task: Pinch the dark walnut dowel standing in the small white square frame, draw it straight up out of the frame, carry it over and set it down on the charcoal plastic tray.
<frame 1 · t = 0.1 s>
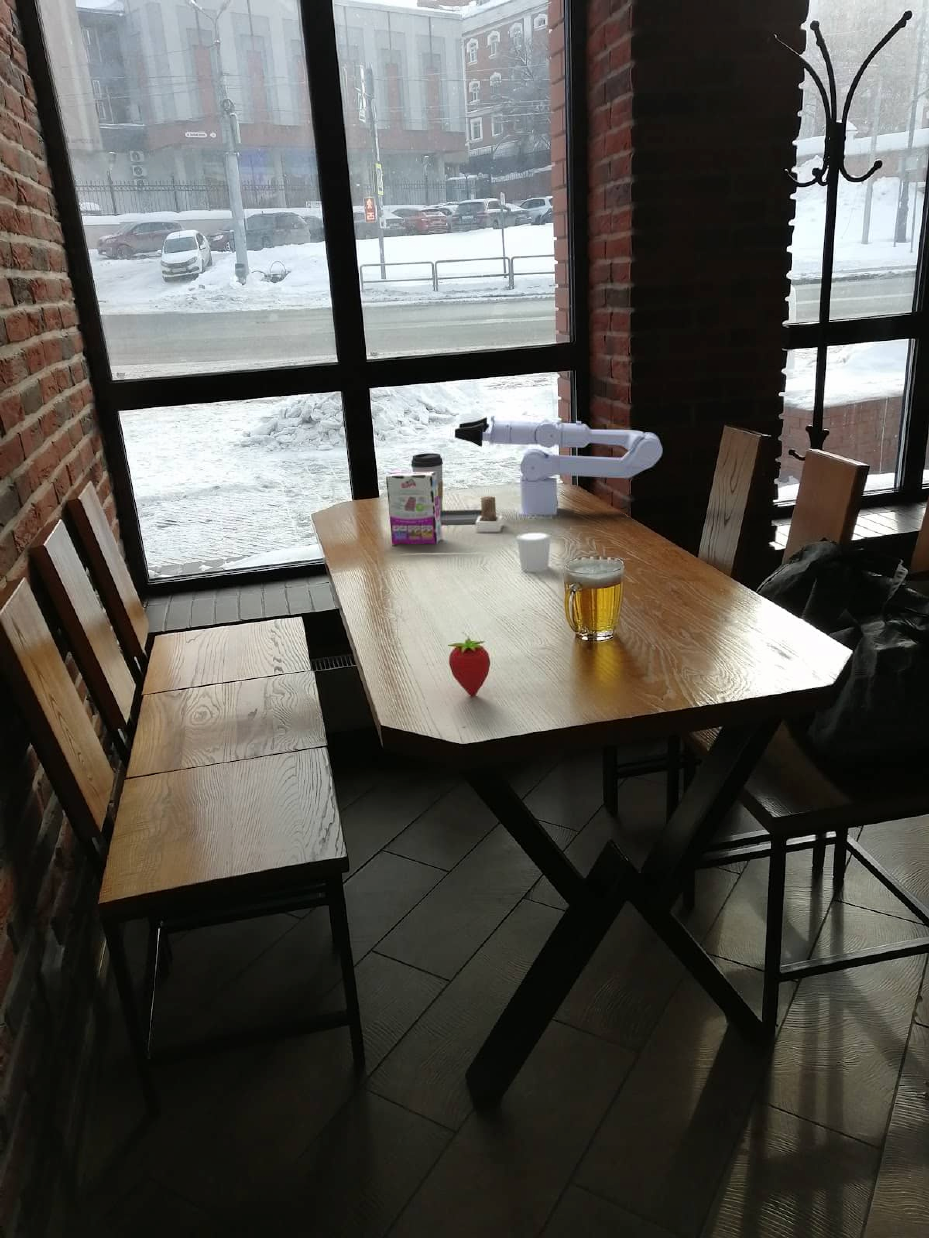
hand: (457, 430, 235), 22 cm above the table, tool horizontal, fingers open, 7 cm apart
coffee cup: (430, 513, 246), on the table
tray: (462, 520, 235), on the table
white tapered cylinder: (534, 569, 193), on the table
strawberry: (471, 697, 136), on the table
candy bar box: (417, 543, 218), on the table
white square frame: (489, 530, 225), on the table
dowel: (489, 528, 225), resting on white square frame
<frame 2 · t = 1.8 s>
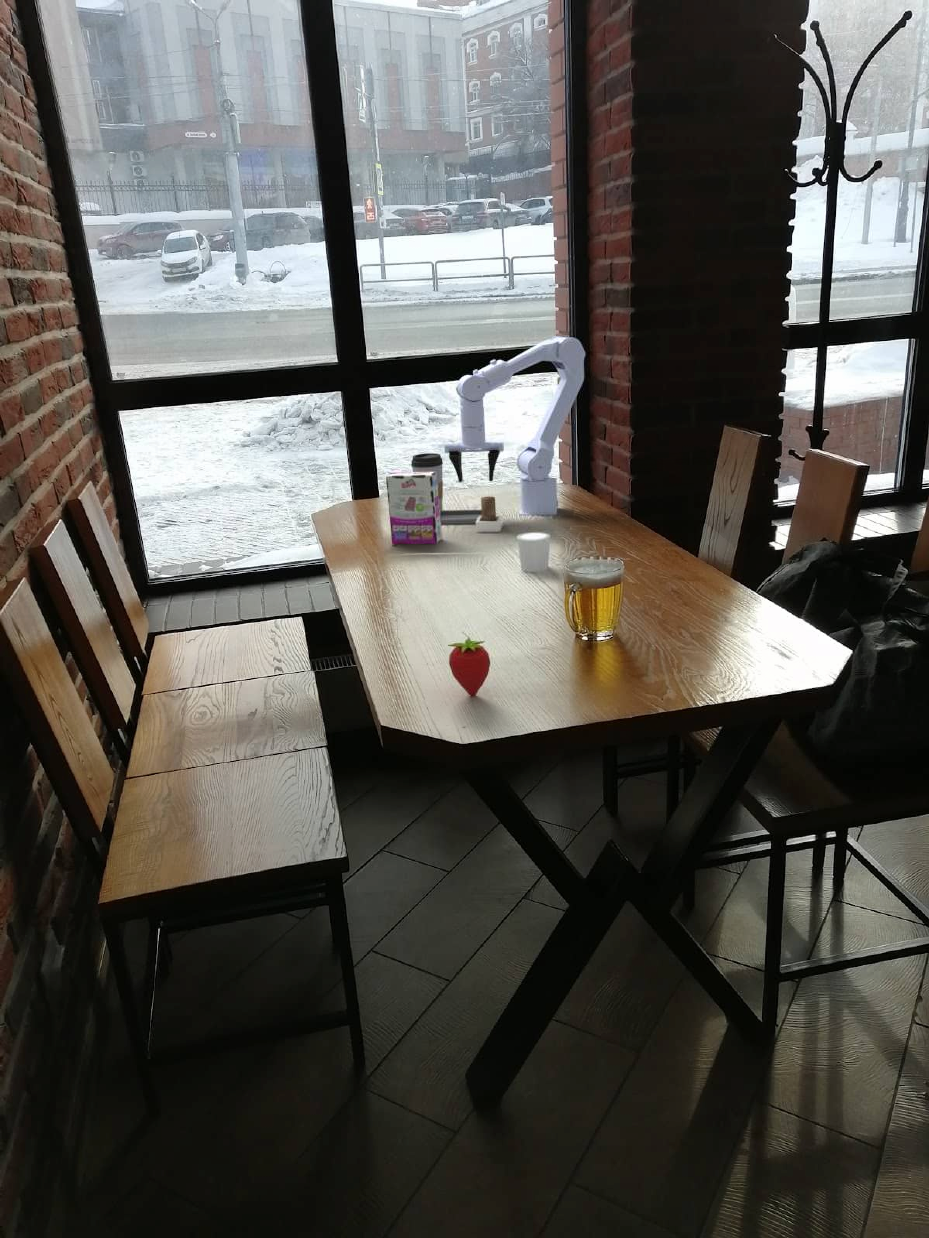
hand: (475, 481, 232), 10 cm above the table, tool pointing down, fingers open, 7 cm apart
nothing on the table moved.
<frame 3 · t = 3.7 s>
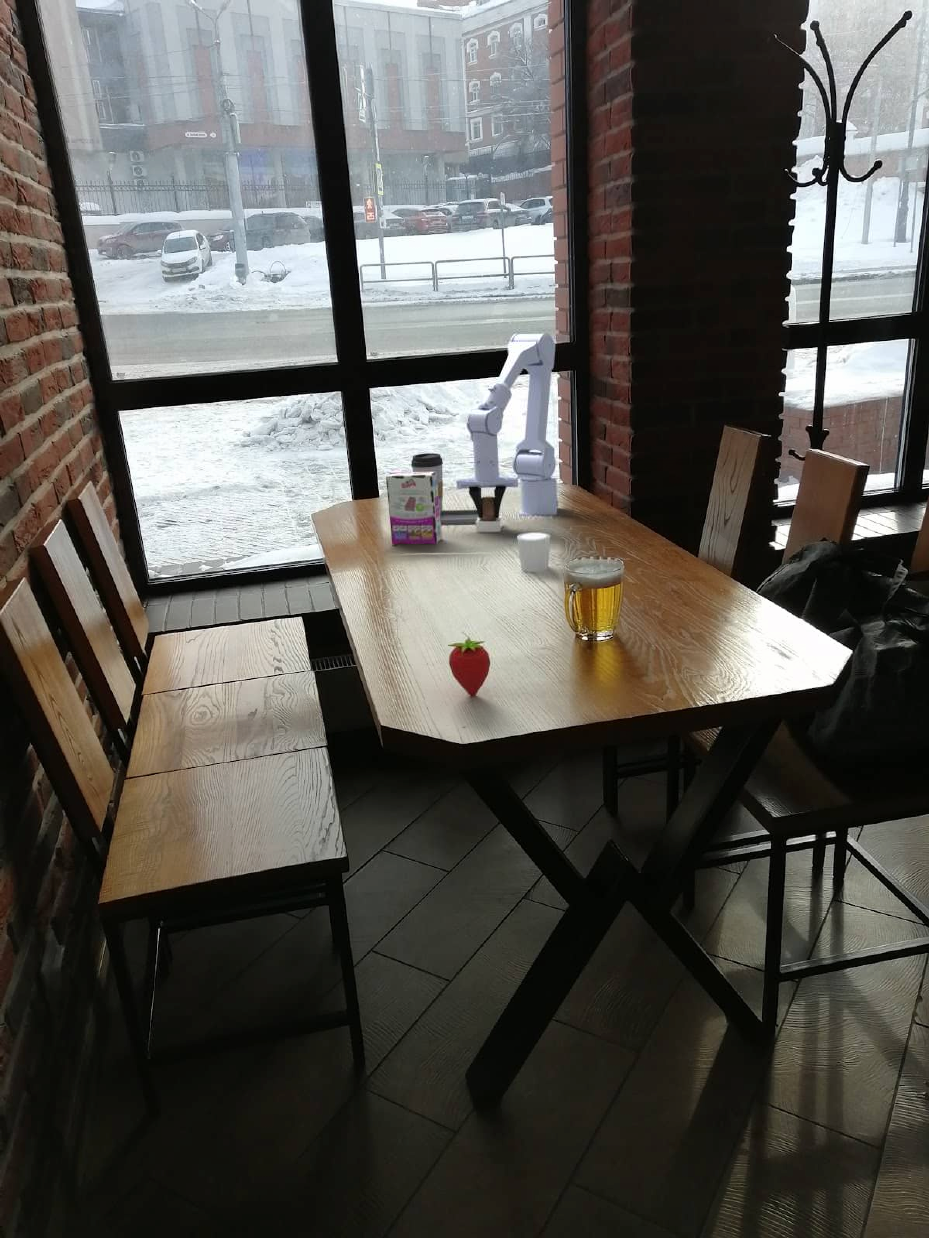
hand: (488, 517, 224), 3 cm above the table, tool pointing down, fingers closed on dowel, 3 cm apart
dowel: (489, 528, 225), resting on white square frame, touching gripper
everything else where it was.
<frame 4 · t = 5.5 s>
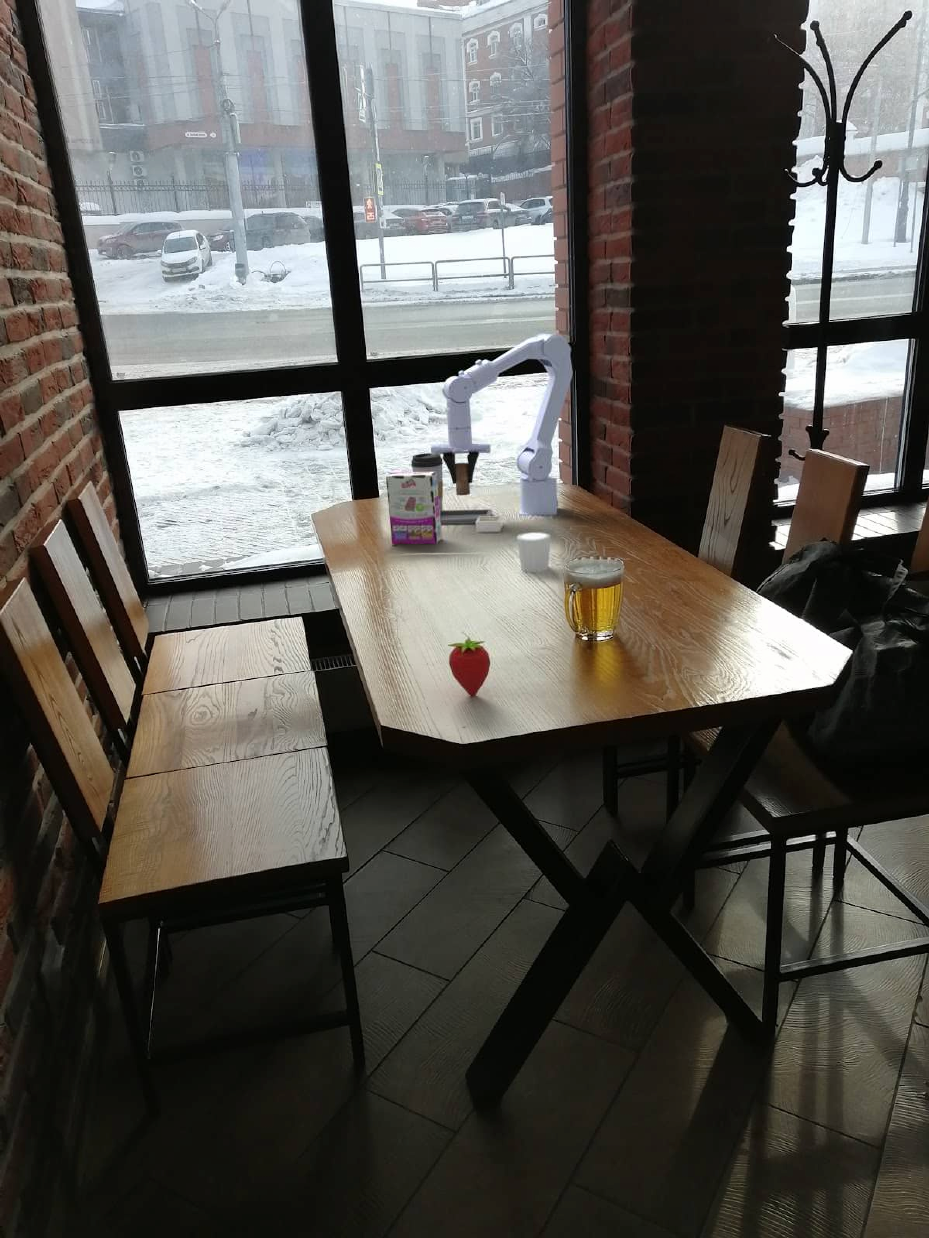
hand: (462, 482, 231), 10 cm above the table, tool pointing down, fingers closed on dowel, 3 cm apart
dowel: (463, 494, 232), point 7 cm above the table, touching gripper
everything else where it was.
when the fingers open (4 cm above the table, at t = 7.1 s): dowel stays where it is, resting on tray.
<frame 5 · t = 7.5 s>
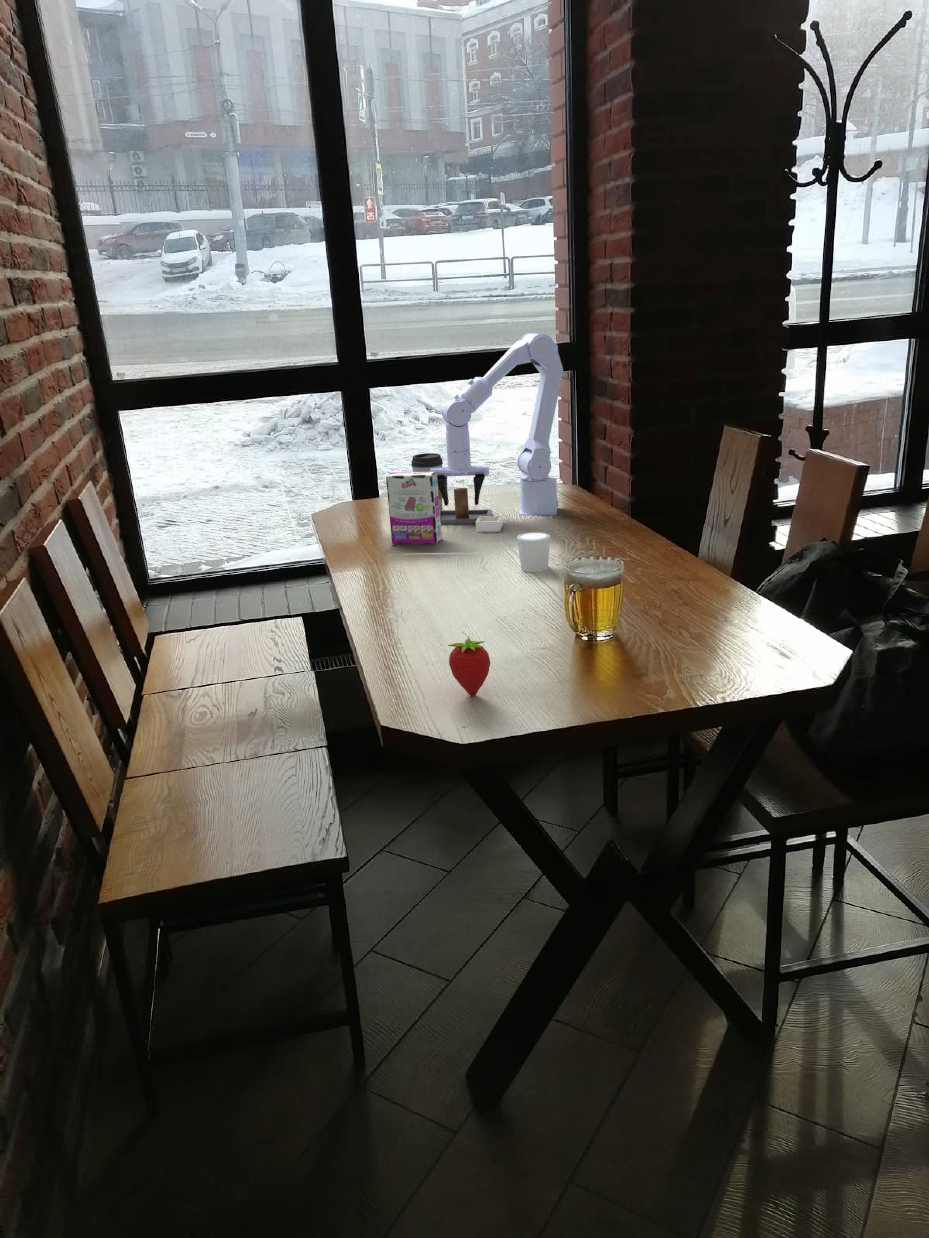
hand: (461, 504, 234), 4 cm above the table, tool pointing down, fingers open, 7 cm apart
dowel: (462, 518, 235), point 1 cm above the table, touching tray
everything else where it was.
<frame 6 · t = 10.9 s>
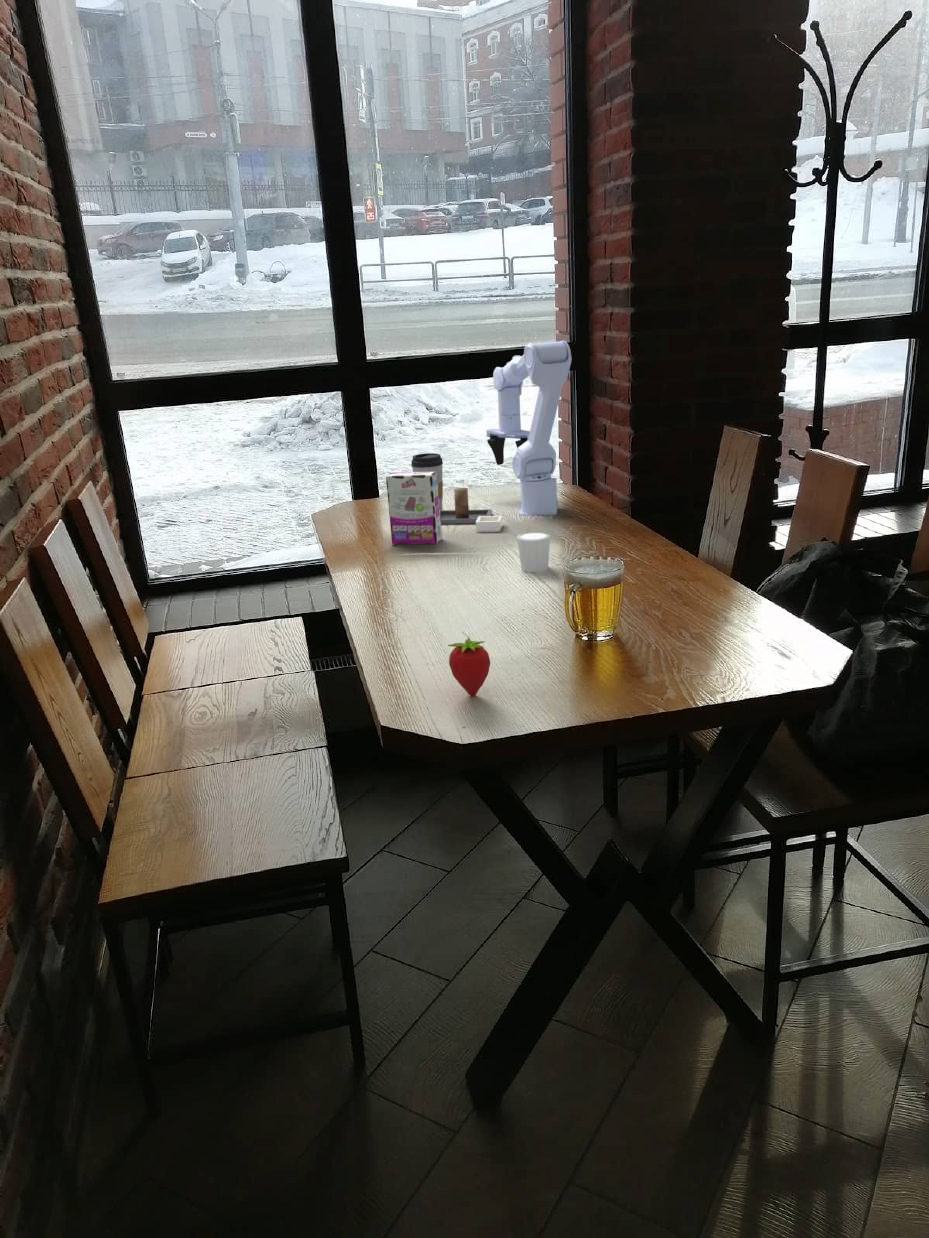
hand: (511, 465, 249), 10 cm above the table, tool pointing down, fingers open, 7 cm apart
nothing on the table moved.
at the end: dowel inside the target area on the tray (0.2 cm from its centre), point 0.6 cm above the tray's base; the gripper is holding nothing; dowel touching tray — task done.
